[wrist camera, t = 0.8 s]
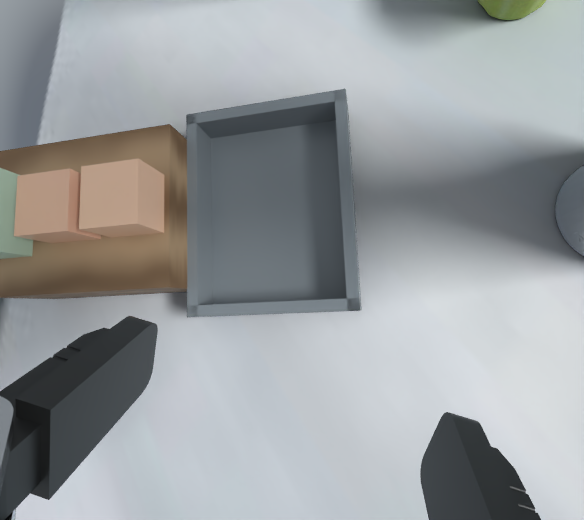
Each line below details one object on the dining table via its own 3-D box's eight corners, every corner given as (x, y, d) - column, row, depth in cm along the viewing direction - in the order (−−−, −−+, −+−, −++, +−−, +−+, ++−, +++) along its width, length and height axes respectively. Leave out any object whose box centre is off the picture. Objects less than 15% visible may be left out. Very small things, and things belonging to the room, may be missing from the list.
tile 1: (112, 181, 31) (81, 166, 28) (164, 174, 30) (138, 158, 27) (111, 237, 30) (78, 229, 27) (164, 232, 29) (137, 223, 26)
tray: (205, 134, 38) (186, 114, 34) (348, 112, 35) (345, 88, 31) (207, 315, 35) (187, 317, 31) (361, 309, 32) (360, 310, 28)
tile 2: (54, 189, 32) (17, 175, 29) (102, 183, 31) (70, 168, 28) (51, 243, 32) (13, 236, 28) (100, 238, 31) (67, 230, 27)
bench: (60, 176, 41) (-1, 151, 34) (205, 156, 37) (169, 124, 31) (55, 298, 39) (-11, 297, 32) (207, 290, 36) (169, 287, 29)
